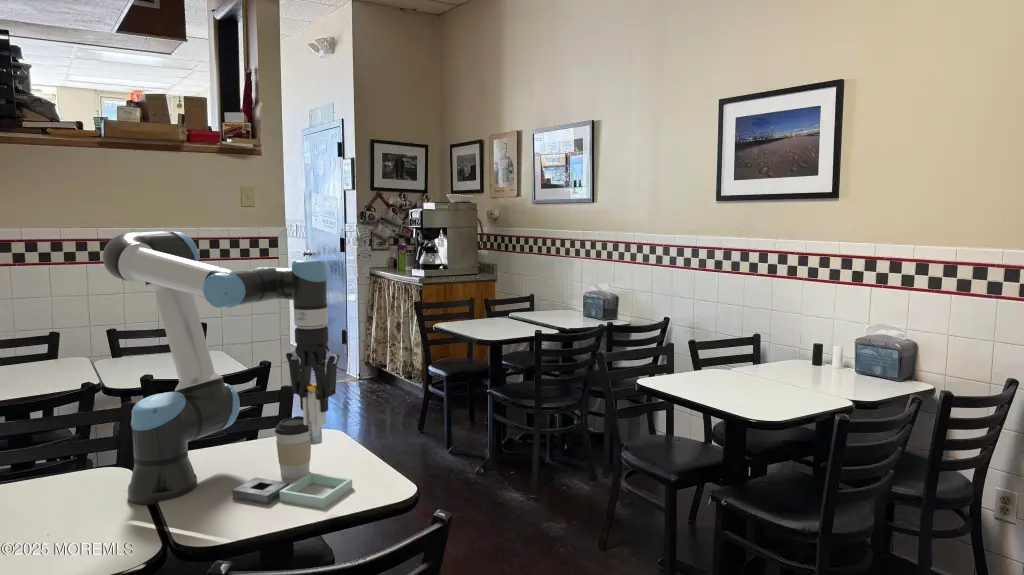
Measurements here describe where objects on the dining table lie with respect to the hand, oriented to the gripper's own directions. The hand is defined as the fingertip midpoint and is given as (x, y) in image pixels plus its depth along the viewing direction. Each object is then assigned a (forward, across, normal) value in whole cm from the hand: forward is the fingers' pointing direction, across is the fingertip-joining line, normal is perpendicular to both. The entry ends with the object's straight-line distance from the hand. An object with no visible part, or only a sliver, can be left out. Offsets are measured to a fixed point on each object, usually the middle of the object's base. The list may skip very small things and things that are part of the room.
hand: (315, 424), depth 162 cm
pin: (+5, 0, 0) cm, 5 cm away
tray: (+18, 0, 0) cm, 18 cm away
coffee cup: (+18, -13, +9) cm, 24 cm away
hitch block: (+18, -12, -5) cm, 22 cm away
